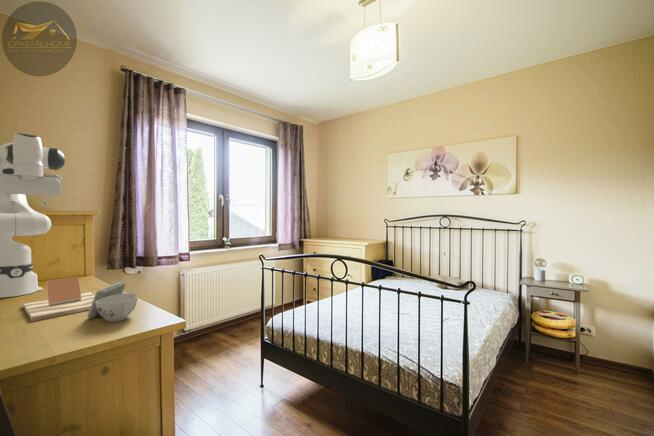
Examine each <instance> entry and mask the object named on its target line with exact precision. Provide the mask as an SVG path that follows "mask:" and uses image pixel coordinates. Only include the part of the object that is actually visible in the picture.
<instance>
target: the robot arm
mask: <svg viewBox="0 0 654 436" xmlns="http://www.w3.org/2000/svg"><path fill="white" fill-rule="evenodd" d="M65 162H66V158H65V154H64V153H63V152H62V151H61V150H60V149H59V148H55V147H46V146H45V147H44V146H43V144H42V139H41V137H40V136H38V135H33V134H27V133H20V132H18V133H14V136H13V141H12V142H5V143H4V144H1V145H0V299H2V298H3V299H4V298H11V297H18V296H19V297H20V296H24V295H28V294H32V293H36V292H40V291H43V290H44V289H43V287H41V286H39V283H38V274H37V273H35V272H34V263H32V249H31V246H29V245H27V244H24V243H23V242H22V243H21V242H18V241H14V240H13V237H20V236H21V237H22V236H24V237H25V236H38V235H43V234H47V233H48V232H49V231H50V229H51V228H52V221H51V219H50V217H49V216H47V215H46V214H44V213H41V212H39V211H36V210H34V209H33V208H32V207H31V206H29V205H30V204H29V203H28V200H27V196H28V195H29V196H30V195H31V196H45V201H42V202H41V206H42V207H47V206H48V202H50V200H51V199H52V198H51V197H52V196H55V197H60V196H61V195H62V193H63V192H62V190H63V189H62V186H61V185H62V183H63V178H62V177H61V176H59V175H58V174H49V173H44V169H45V170H46V169H47V170H52V171H58V170H60V169H62V168H63V167H64V166H65Z"/></svg>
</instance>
